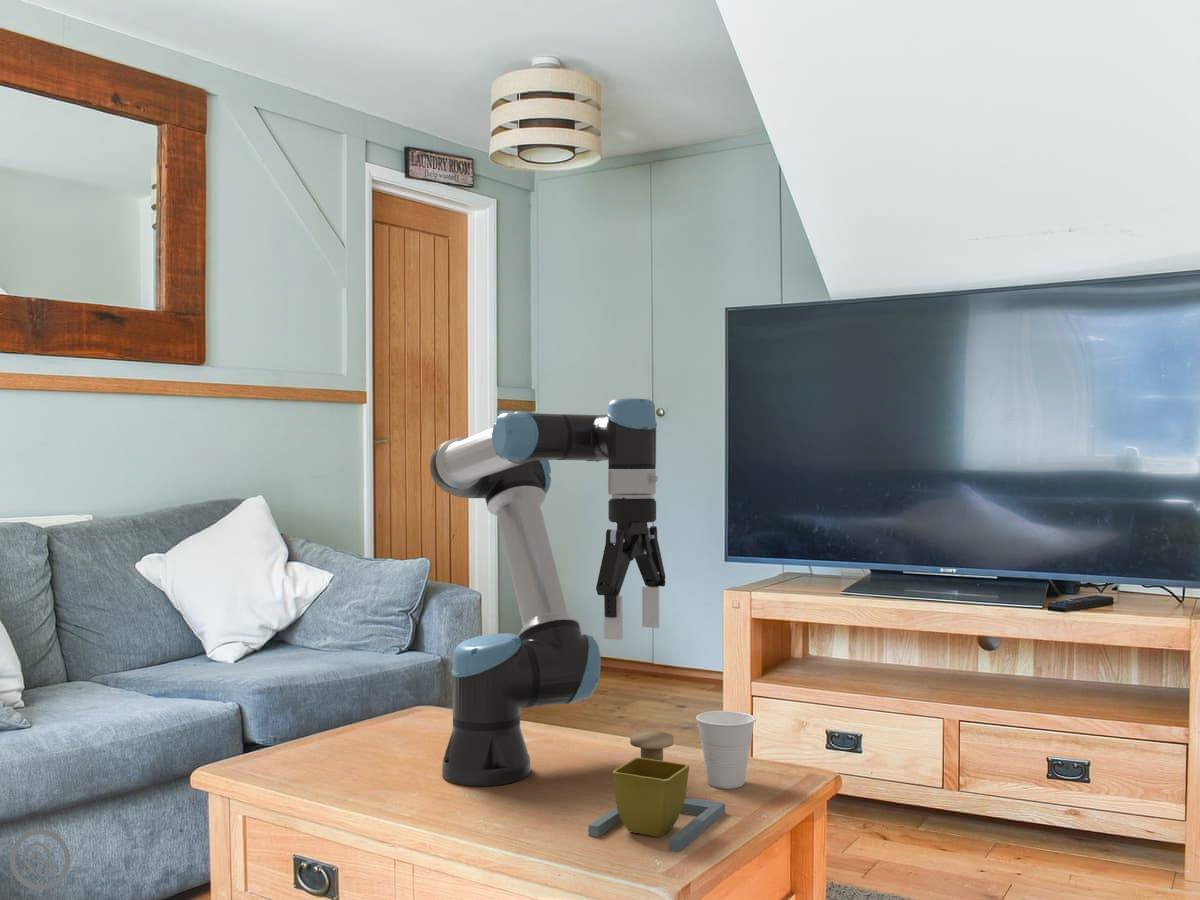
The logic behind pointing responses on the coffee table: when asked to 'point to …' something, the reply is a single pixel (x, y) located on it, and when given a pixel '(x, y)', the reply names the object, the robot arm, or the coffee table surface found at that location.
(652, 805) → the flower pot
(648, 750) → the bobbin
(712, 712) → the cup
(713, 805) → the blue-grey u-shaped bracket
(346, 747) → the coffee table surface
